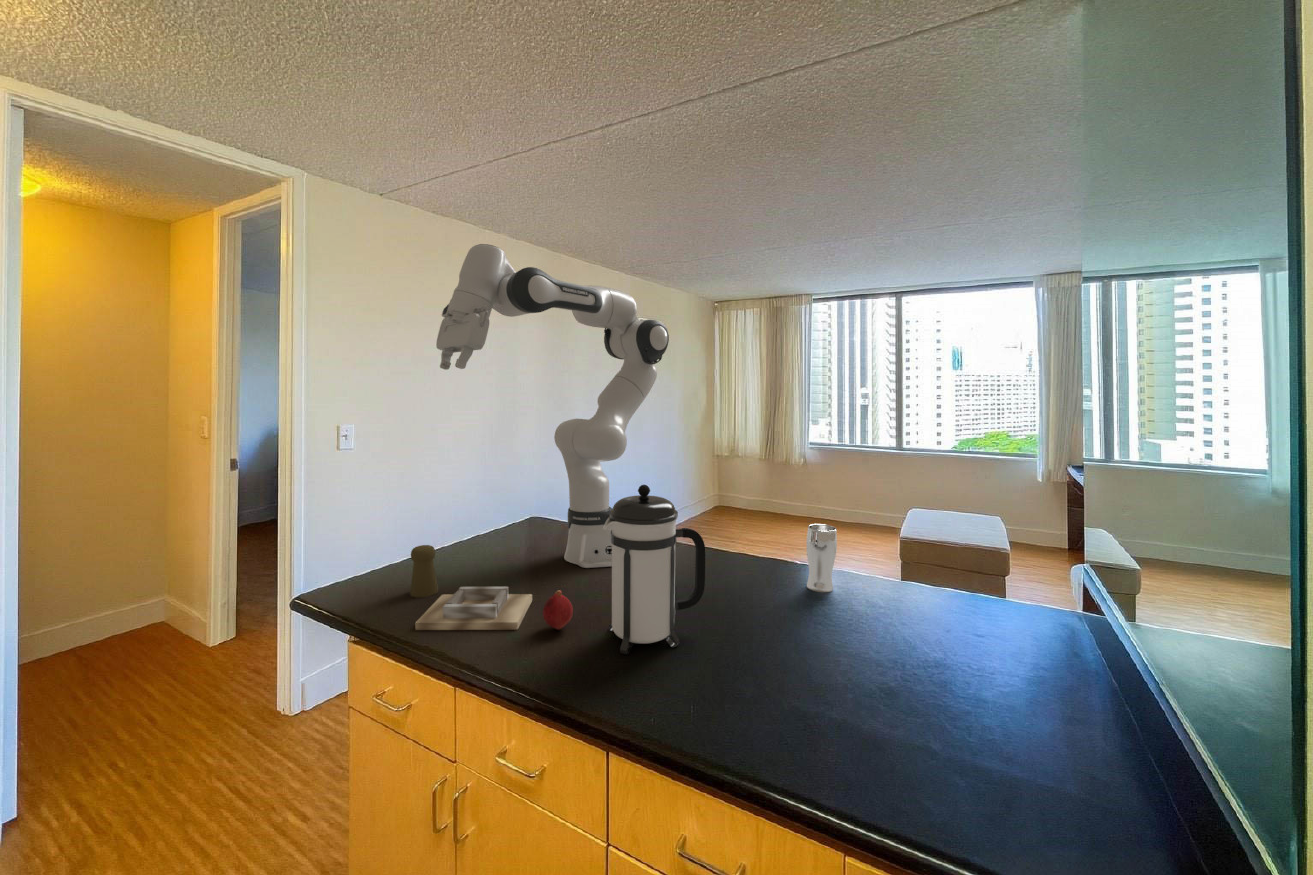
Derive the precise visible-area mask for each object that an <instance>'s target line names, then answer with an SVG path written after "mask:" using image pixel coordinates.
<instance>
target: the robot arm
mask: <svg viewBox="0 0 1313 875" xmlns="http://www.w3.org/2000/svg"><path fill="white" fill-rule="evenodd" d="M506 255H507V254H506V253H505V251H504V250H503V249H501V248H500V247H498V246H495V245H493V244H485V243H479V244H476V245H475V244H474V245H473V246H471V248H470V249H469V250H468V252H467V254H466V256H465V258H464V261H463V263H462V265H461V268H460V272H459V275H458V276H459V277H458V279H459V280H458V284H457V286H456V287H455V289H454V290H453V293H452V296H451V299H450V300H449V302H448V304H447V305H446V306H445V307H444V308H443V309H442V312H441V316H442V317H443V319H442V320H441V322H440V326H439V330H438V334H437V336H436V337H437V338H436V349H437V350H438V351H439V350H440V351H441V353H440V356H441V358H440V359H441V361H440V364H439V368H440V369H442V370H445V371H446V370H450V368H451V364H452V363H451V359H452V357H453V355H454V353H460V354H459V356H458V358H456V361H455V363H454V367H456V368H457V369H459V370H463V369H466V367H467V363H468V362H469V360H470V358H471V357H472V356H473V352H474V351H479V350H480V351H481V350H482V349H483V348H484V346H485V344H486V340H487V337H488V333H489V328H490V316H491V313H492V309H493V310H494V311H495V312H497V313H498V314H501V316H505V317H510V318H511V317H518V316H519V317H520V316H523V315H528V314H537V313H543V312H546V311H547V310H549V309H553V308H554V309H559V310H560V309H561V310H565V311H571V312H572V316H573V317H574V319H575V320H576V321H577V323H579V324H581V325H584V326H588V327H592V328H598V329H599V328H601V329H604V330H603V331H604V332H603V333H604V336H603V343H604V348H605V350H606V352H607V354H608V355H609V356H611V357H612V358H615V359H618V360H623V364H622V366H621V368H620V370H619V371H618V372H617V373H616V374H615V375H614V376H613V378H612V379H611V380H610V381H609V382H608V384H607V385H606V386H605V388H604V389H603V390H602V391H601V392H600V394H599V395H598V397H597V405H598V407H597V410H596V412H595V413H594V415H593V416H592V417H591V418H589V419H585V418H584V419H583V418H571V419H568V420H565V421H563V422H561V423H560V424H559V425H558V426H557V427H556V429H555V431H554V443H555V445H556V447H557V448H558V450H559V451H560V454H561V456H562V459H563V462H564V466H565V469H566V473H567V478H568V490H569V492H568V493H569V494H568V495H569V497H568V499H569V508H568V509H567V528H568V534H567V535H568V537H567V542H566V543H567V544H566V549H565V553H564V556H563V559H564V560H565V561H566V562H569V563H571V564H574V565H578V566H579V567H581V568H583V569H584V568H585V569H590V568H606V567H612V543H611V530H603V527H604V524H605V522H606V521H607V519H608V518H609V516H610V511H611V510H612V509H613V507H611V506H610V481H609V477H608V476H607V475H606V473H605V472H604V470H603V468H602V464H601V462H603V463H604V462H610V461H615V460H618V459H619V458H621V457H622V455H623V454H624V453H625V451H626V448H627V443H628V442H627V434H626V430H627V426H628V424H629V422H630V420H631V418H632V417H633V415H634V414H635V413H636V411H637V410H638V409H639V407H640V406H641V405H642V403H643V402H644V400H645V399H647V398H646V397H648V394H649V393H650V392H651V390H652V388H653V386H654V384H655V382H656V380H657V375H658V372H657V369H656V366H655V365H656V364H658V363H659V362H660V361H661V360H662V358H663V355H664V354H665V353H666V351H667V349H668V345H669V342H670V340H669V339H670V337H669V336H670V335H669V331H668V328H667V327H666V325H665V324H664V323H663V322H661V321H659V320H655V319H645V320H640V319H638V317H637V315H638V314H637V313H638V305H637V303H636V300H635V298H633V297H632V295H631V294H628V293H626V292H624V291H622V290H618V289H615V288H611V287H606V286H601V285H592V284H591V285H580V284H577V283H572V282H567V281H563V280H559V279H556V278H554V277H552V276H550V274H548V273H546V272H545V271H543V270H542V269H539V268H537V267H534V266H529V267H528V266H527V267H523V268H521V269H519V270H518V271H516V269H514V268H513V266H512V265H511V264H510V261H509V260H508V258H507V256H506Z"/></svg>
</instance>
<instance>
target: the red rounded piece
mask: <svg viewBox="0 0 1313 875" xmlns="http://www.w3.org/2000/svg"><path fill="white" fill-rule="evenodd" d="M562 593H563V592H562V590H561V589H560V590H557V591H556V592H555V593H554V594H553V595H551V596H550V597H549V598H548V599H547V600H546V601H545V604H544V606H543V609H542V618H543V620H544V622H545V623H546V624H547V625H548V626H549V627H551V628H553V629H556V630H557V631H559V630H561V629H563V628H564V627H565V626H566V625H567V624H568V623H569V622H570V621H571V620H572V617H573V612H574V608H573V604H572V603H571V601H570V599H568V597H566V596H565V595H564V594H562Z"/></svg>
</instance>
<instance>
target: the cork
mask: <svg viewBox="0 0 1313 875" xmlns="http://www.w3.org/2000/svg"><path fill="white" fill-rule="evenodd" d="M435 557H436V549H435V547H434V546H432V545H429V544H423V545H417V546H415V547H413V548H412V549H411V552H410V559H411V560H412V561H413V567H412V575H411V583H410V584H411V585H410V594H409V596H411V597H413V598H417V599H418V598H427V597H431V596H434V595H436V594H438V592H439V585H438V581H437V576H436V574H437V573H436V570H435V568H436V567H435V564H434V563H435V562H434V559H435Z"/></svg>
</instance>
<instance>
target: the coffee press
mask: <svg viewBox="0 0 1313 875" xmlns="http://www.w3.org/2000/svg"><path fill="white" fill-rule="evenodd" d="M637 492H638V495H630V496H626V497H623V498H621V499H619V500H617V501H616V502H614V505H613V506H612V508H613V509H612V510H611V511H610V516H609V518H608V519H607V521H606V522H605V524H604V527H603V530H611V543H612V566H611V622H610V623H609V625H608V630H609V632H612V633H613V632H614V634H615V635H616V636H617V637H618V638H619V639H622V642H621V645H620V648H619V652H620V653H621V654H623V655H629V654H630V652H631V650H632V648H633V646H634V644H652V643H653V644H654V643H657V642H659V641H662V640H664V641H666V642H667V644H668V645H669V647H671V648H672V649H674V648H676V647H677V646H678V645H679V644H680V639H679V637H678V636H677V633H676V632H675V617H676V611H681V610H685V609H689V608H692V607H694V606H695V605H697V603H699V602H700V601H701V599H702V597H703V595H704V592H705V585H706V545H705V541H704V539H703V537H702V536H701V534H700V533H699V532H698V531H696V530H695V529H693V528H690V527H682V528H676V526H677V525H676V523H677V519H678V517H679V516H678V515H679V512H678V511H677V510H676V508H675V505H674V503H673V502H671V501H670V500H669V499H667V498H665V497H661V496H657V495H649V494H650V492H651V489H650V486H648V485H647V484H642V485H640V486H639V487H638V489H637ZM677 538H686V539H690V540H692V542H693V543H694V546H695V547H694V548H695V565H694V566H695V571H694V574H695V576H694V581H695V582H694V589H693V592H692V594H690V596H688V597H687V598H683V599H676V598H675V594H676V591H675V589H676V588H675V587H676V583H675V582H676V543H677ZM675 599H676V600H675ZM670 636H671V638H670ZM672 639H673V640H672Z"/></svg>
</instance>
